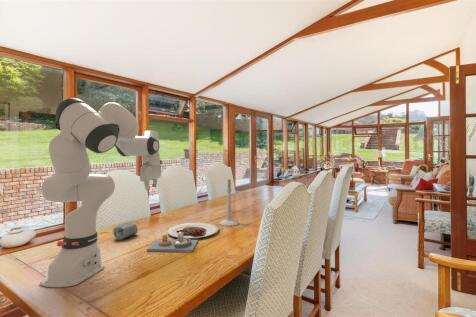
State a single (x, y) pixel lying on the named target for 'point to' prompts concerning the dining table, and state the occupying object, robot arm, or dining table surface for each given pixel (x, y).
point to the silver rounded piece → (180, 239)
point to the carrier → (172, 245)
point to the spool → (125, 230)
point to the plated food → (193, 230)
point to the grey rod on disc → (229, 210)
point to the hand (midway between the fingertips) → (151, 188)
